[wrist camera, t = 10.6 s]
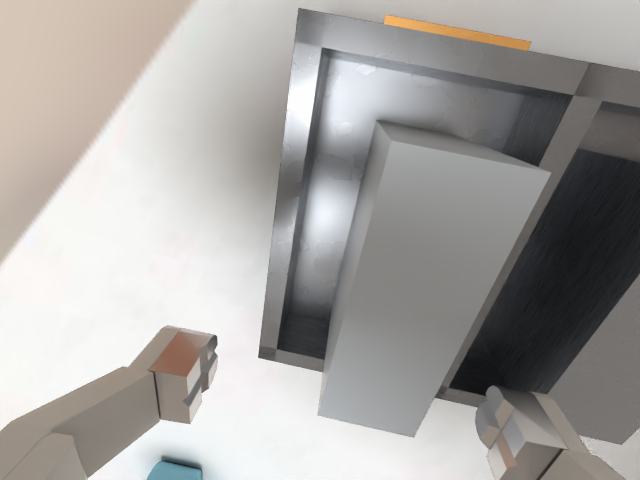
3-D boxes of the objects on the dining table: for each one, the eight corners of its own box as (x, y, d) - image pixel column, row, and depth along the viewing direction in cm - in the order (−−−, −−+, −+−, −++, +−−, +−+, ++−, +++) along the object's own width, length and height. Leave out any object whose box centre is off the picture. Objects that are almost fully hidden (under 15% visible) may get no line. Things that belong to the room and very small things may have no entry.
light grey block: (462, 136, 15) (561, 174, 7) (397, 312, 19) (419, 439, 12) (376, 119, 15) (391, 140, 8) (332, 298, 20) (317, 415, 12)
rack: (784, 111, 13) (1131, 122, 7) (571, 379, 21) (655, 491, 15) (315, 23, 14) (281, -33, 8) (275, 314, 21) (242, 396, 16)
